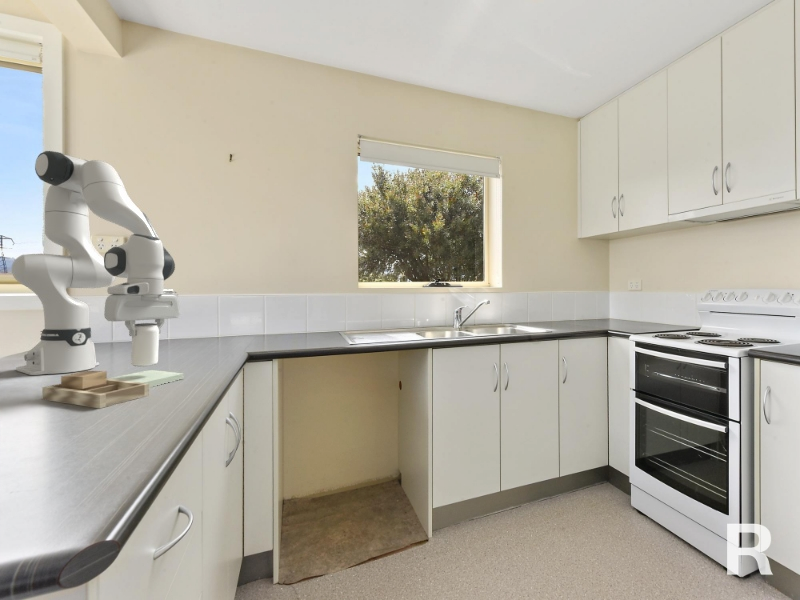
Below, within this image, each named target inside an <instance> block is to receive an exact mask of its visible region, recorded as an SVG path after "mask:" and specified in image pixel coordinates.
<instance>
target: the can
mask: <svg viewBox="0 0 800 600" xmlns="http://www.w3.org/2000/svg"><path fill="white" fill-rule="evenodd" d="M133 325H134V327H135V329H136V330H137V336H131V357H130V358H131V361H130V362H131V365H132V366H134V367H151V366H154V365H157V364H158V362H159V347H160V346H159V343H160V340H159V339H160V334H159V329H158V327H157V324H156V323H155V322H154V323H152V322H150V323H149V322H145V323H144V322H143V323H135V324H133Z"/></svg>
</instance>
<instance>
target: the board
mask: <svg viewBox="0 0 800 600" xmlns="http://www.w3.org/2000/svg"><path fill="white" fill-rule="evenodd" d="M184 374H185V373H183V372H174V371H164V370H154V369H148V370H143V371H137V372H133V373H127V374H123V375H118V376H112V377H108V378H107V379H114V380H122V381H130V382H139V383H147V384H149V387H150V388H153V386H154V387H157V385H158V386H162V385H165V384H164V383H166V384H169V383H168V382H170V383H173V382H172V381H174V382H176V381H175V380H178V381H180V380H179V379H182V380H184V379H185V378H184V377H185V376H184ZM183 378H184V379H183ZM161 384H162V385H161Z"/></svg>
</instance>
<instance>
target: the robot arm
mask: <svg viewBox="0 0 800 600" xmlns="http://www.w3.org/2000/svg"><path fill="white" fill-rule="evenodd" d="M34 169H35V174H36V176H37V177H38V178H39V180H41V181H42V182H45V183H47V184H48V185H50V186H49V187H48V189H47V193H46V197H45V201H44V234H45V236H46V238H47V239H48V240H49V241H51V242H52V243H54V244H56V245H58V246H60V247H63V248H64V249H66V250H67V252H68V255H63V254H53V253H52V254H50V253H31V254H30V253H27V254H21V255H19V256H18V257H16V259H15V260H14V261H13V262H12V264H11V267H10V270H11V274H12V276H13V278H14V279H15V280H16V282H18V283H19V284H21V285H23V286H25V287H26V288H27V289H30V290H31V291H32V292H33V293H34V294H35V296H37V298H38V299H39V300H40V302H41V304H42V308H43V316H44V329H42V330H41V331H40V341H39V342H38V343H37V344H35V346H33V347H32V348H31V349H30V350H29V351H28V352H27V353H26V354H24V355H23V358H24V361H26V362H25V363H26V364H25V365H21V366H18V367H15V371H17V372H19V373H23V374H26V375H29V376H38V375H39V376H40V375H53V374H65V373H66V374H67V373H74V372H75V373H77V372H83V371H88V370H92V369H94V368H96V367H98V366H99V365H100V362H99V361H97V360H96V359H97V358H96V351H95V350H96V349H95V343H94V342H93V341H92V340H91V338H92V328H91V327H90V314H91V313H90V311H91V310H90V307H89V305H88V303H86V302H84V301H83V300H81V299H78V298H76V297H73V296H71V295H69V294H68V291H67V289H99V288H106V287H107V290H106V291H107V293H108V295H107V297H106V299H105V302H104V319H106V321H108V322H124V325H125V326H126V328H127V329H128V332H129V337H132V336H137V330H136V329H135V327H134V326H135V325H134V324H136V321H148V320H149V321H150V320H152V321H153V320H154V323H155V324H157V327H158V329H159V335H160V334H161V329H162V328H163V325H164V324H165V320H168V319H170V320H171V319H179V317H180V315H181V314H180V313H181V311H180V302H179V294H178V293H177V292H176V291H175V290H174V289H165V287H164V285H165V284H164V283H165V281H166V280H167V279H169V278H170V277H171V276H173V274H174V272H175V270H176V264H175V261H174V258H173V256H172V255H171V253H170V252H169V251H168V250H167V249H166V248H165V246H164V244H163V242H162V240H161V239H160V238H159V235H158V234H157V232H156V230H155V228H154V226H153V225H152V222H151V221H150V219H149V218H148V216H147V215H146V214H145V213H144V212H143V211H142V210H141V209H140V208H139V207H138V206H137V205H136V204H135V202H133V200H132V199H131V197H130V196H129V194H128V193H127V189H126V187H125V184H124V183H123V180H122V178H121V176H120V174H119V173H118V171H117V170H116V168H114V166H112V165H111V164H110V163H108V162H106V161H102V160H99V159H97V160H95V159H93V160H87V159H83V158H80V157H79V158H78V157H75V156H71V155H68V154H64V153H62V152H58V151H53V150H45V151H43V152H40V153H39V155H38V156H37V158H36V160H35V164H34ZM89 211H91V213H93V214H94V215H95V216H97V217H98V218H100V219H102V220H104V221H107V222H109V223H112V224H115V225H118V226H120V227H122V228H124V229H126V230H128V231H130V232H131V233H132V234H131V235H129V237H128V240H127V241H126V242H124V243H122V244H120V245H117V246H113V247H111V248H109V249H108V250H107V251H106V252H105V254H104V256H102V254H100V253H99V251H98V250H97V249H96V247H95V245H94V244H93V242H92V238H91V232H90V231H91V230H90V229H91V228H90V212H89ZM116 278H123V279H126V280H127V281H126V282H122V283H118V284H114V285H112V284H113V283H114V282H115V281H116Z"/></svg>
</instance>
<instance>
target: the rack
mask: <svg viewBox="0 0 800 600" xmlns="http://www.w3.org/2000/svg"><path fill="white" fill-rule="evenodd" d="M107 383H108V386H105V387H100V388H95V389H91V390H86V391H81V390H74V389H67V388H60V387H61V383H57V384H52V385H47V386H42V388H41V389H42V393H41V394H42V395H41V396H42V398H41V400H45V401H52V402H57V403H58V402H59V403H65V404H71V405H77V406H83V407H89V408H94V409H95V408H96V409H102V408H107V407H111V406H113V405H114V406H115V405H118V404H121V403H125V402H130V401H132V400H137V399H140V398H144V397H147V396H150V388H149V384H147V383H139V382H130V381H122V380H114V379H107Z"/></svg>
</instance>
